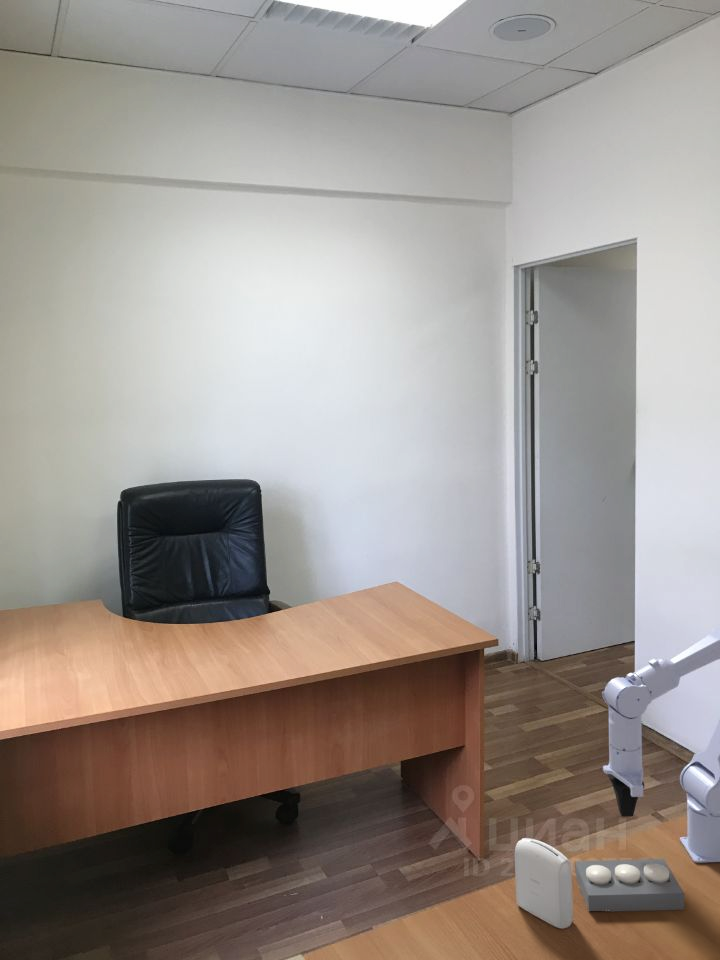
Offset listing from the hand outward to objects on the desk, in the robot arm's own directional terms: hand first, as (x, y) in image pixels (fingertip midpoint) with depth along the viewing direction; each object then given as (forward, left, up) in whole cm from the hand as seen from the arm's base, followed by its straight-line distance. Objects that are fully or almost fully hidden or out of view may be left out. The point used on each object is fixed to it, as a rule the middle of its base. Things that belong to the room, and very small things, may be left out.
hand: (626, 814), depth 151 cm
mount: (+2, +9, -9) cm, 13 cm away
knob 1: (+8, +9, -10) cm, 15 cm away
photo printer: (+18, +14, -10) cm, 25 cm away
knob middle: (+2, +9, -10) cm, 13 cm away
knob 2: (-2, +9, -10) cm, 13 cm away
